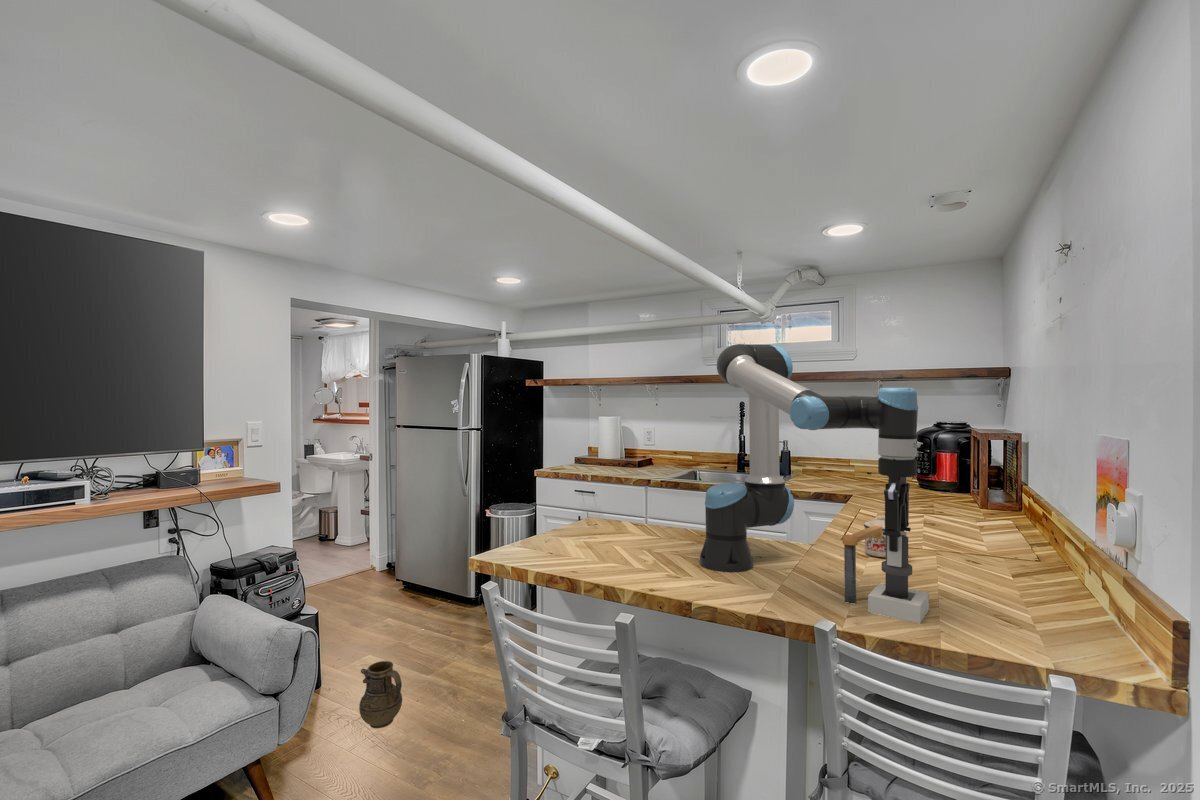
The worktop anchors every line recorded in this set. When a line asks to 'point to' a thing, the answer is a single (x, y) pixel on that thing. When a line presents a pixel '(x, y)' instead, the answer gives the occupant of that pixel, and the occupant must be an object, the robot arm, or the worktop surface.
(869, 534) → the clip
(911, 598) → the socket block
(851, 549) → the clip post
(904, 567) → the plug
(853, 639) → the worktop surface
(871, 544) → the teacup with lid
